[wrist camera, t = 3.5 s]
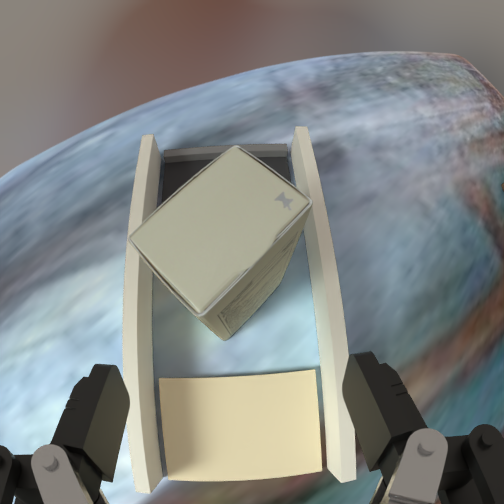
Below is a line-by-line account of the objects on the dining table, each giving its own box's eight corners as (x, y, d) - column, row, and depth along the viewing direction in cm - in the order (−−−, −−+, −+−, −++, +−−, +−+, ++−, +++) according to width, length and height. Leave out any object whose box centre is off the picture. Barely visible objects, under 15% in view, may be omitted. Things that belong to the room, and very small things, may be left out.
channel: (150, 476, 17) (135, 491, 14) (151, 160, 27) (142, 135, 23) (339, 465, 18) (355, 479, 14) (300, 152, 28) (307, 126, 24)
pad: (169, 477, 17) (168, 479, 17) (160, 377, 20) (158, 377, 20) (320, 469, 18) (321, 470, 17) (313, 369, 20) (315, 369, 20)
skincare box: (240, 246, 24) (240, 136, 12) (282, 283, 23) (321, 196, 11) (180, 304, 22) (119, 235, 11) (222, 346, 21) (199, 319, 10)
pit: (161, 225, 24) (157, 218, 23) (166, 158, 27) (164, 150, 26) (295, 218, 25) (298, 210, 24) (284, 152, 27) (286, 143, 26)
